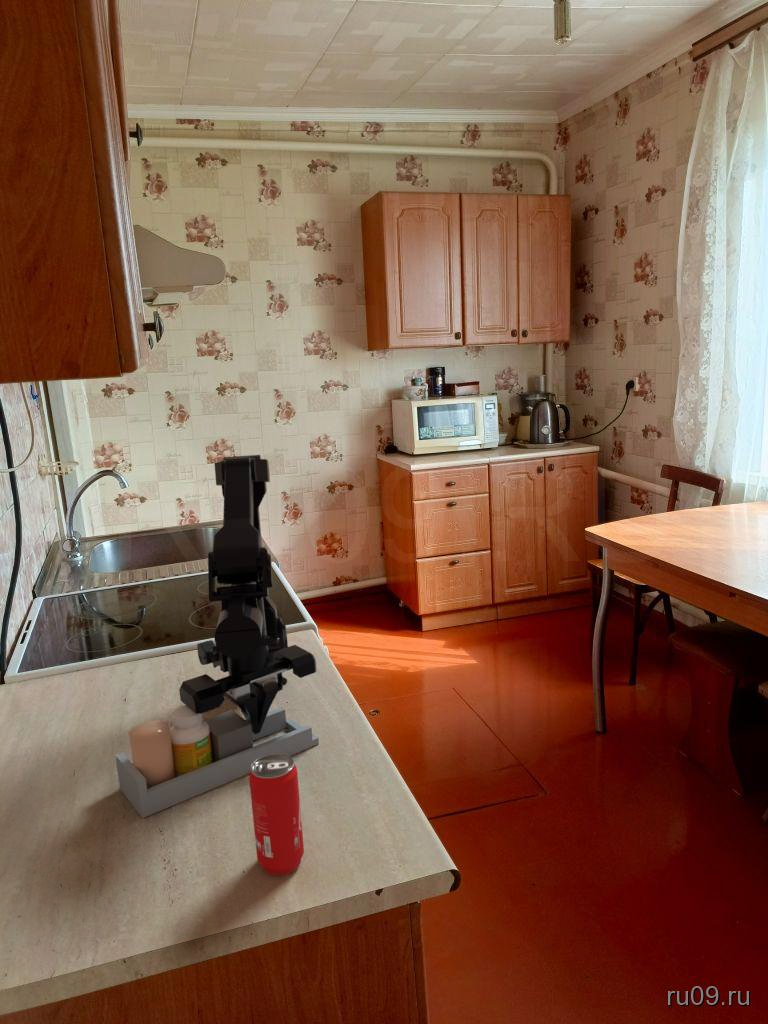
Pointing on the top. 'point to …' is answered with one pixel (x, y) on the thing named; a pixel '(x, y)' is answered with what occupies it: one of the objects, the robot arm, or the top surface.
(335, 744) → the top surface
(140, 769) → the jar
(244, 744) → the block
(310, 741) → the tray
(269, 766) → the beverage can
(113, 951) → the top surface
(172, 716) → the supplement bottle
